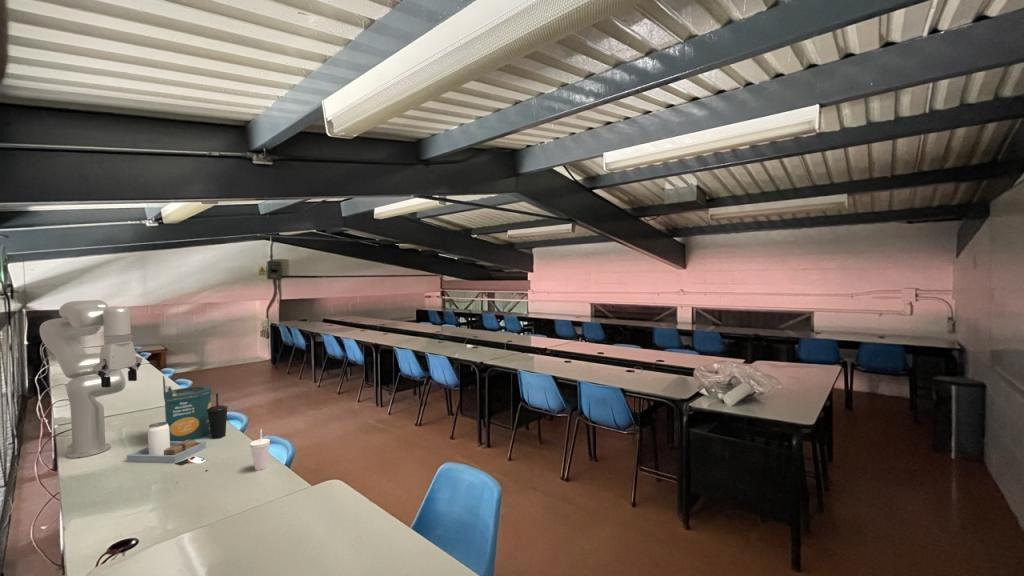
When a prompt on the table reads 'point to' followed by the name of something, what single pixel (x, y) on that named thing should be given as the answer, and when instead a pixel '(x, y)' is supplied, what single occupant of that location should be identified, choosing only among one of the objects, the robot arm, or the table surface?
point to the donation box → (187, 412)
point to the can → (158, 438)
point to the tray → (145, 457)
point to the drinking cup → (217, 420)
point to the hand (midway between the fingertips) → (119, 383)
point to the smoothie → (260, 452)
